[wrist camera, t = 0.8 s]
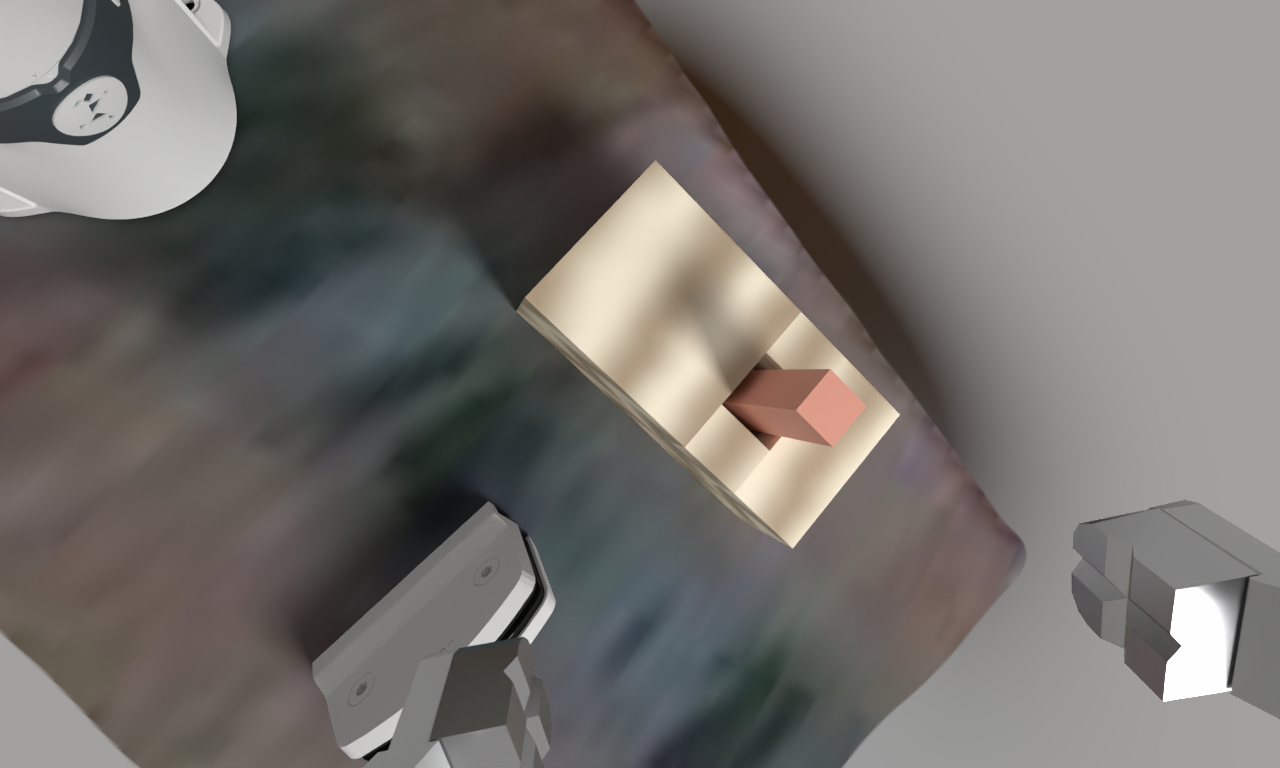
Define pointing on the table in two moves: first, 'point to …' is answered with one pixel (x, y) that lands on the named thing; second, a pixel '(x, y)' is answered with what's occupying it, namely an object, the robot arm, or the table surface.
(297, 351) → the table surface
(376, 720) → the hinge
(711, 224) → the beige wooden block
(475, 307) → the table surface
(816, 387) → the salmon pink square peg
